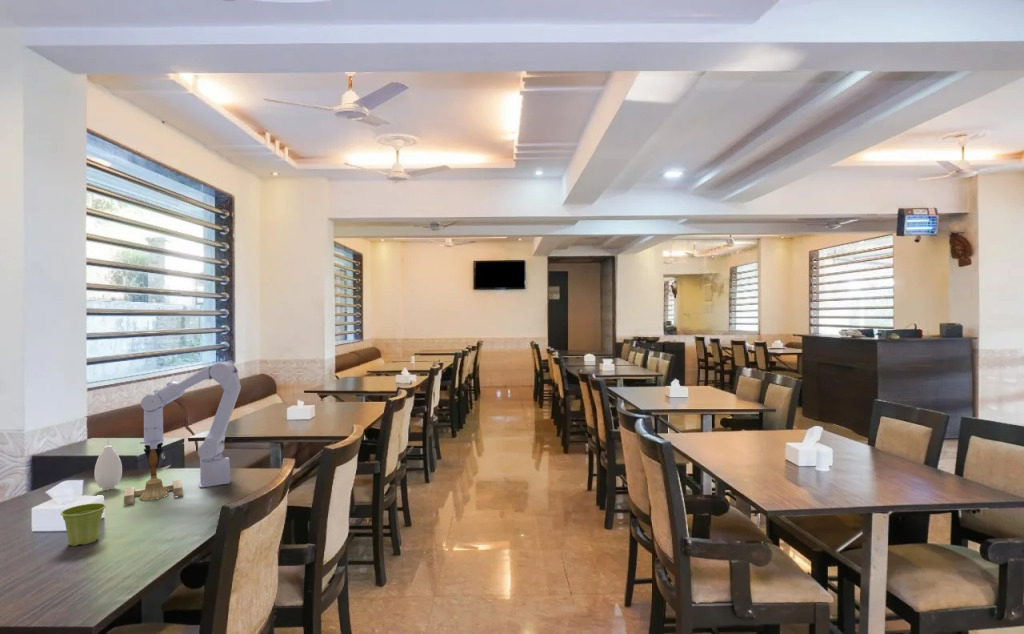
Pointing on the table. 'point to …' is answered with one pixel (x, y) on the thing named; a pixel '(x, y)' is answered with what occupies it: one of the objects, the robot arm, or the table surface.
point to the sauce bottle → (108, 468)
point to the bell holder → (131, 491)
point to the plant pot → (83, 523)
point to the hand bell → (153, 481)
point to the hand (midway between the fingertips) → (153, 466)
